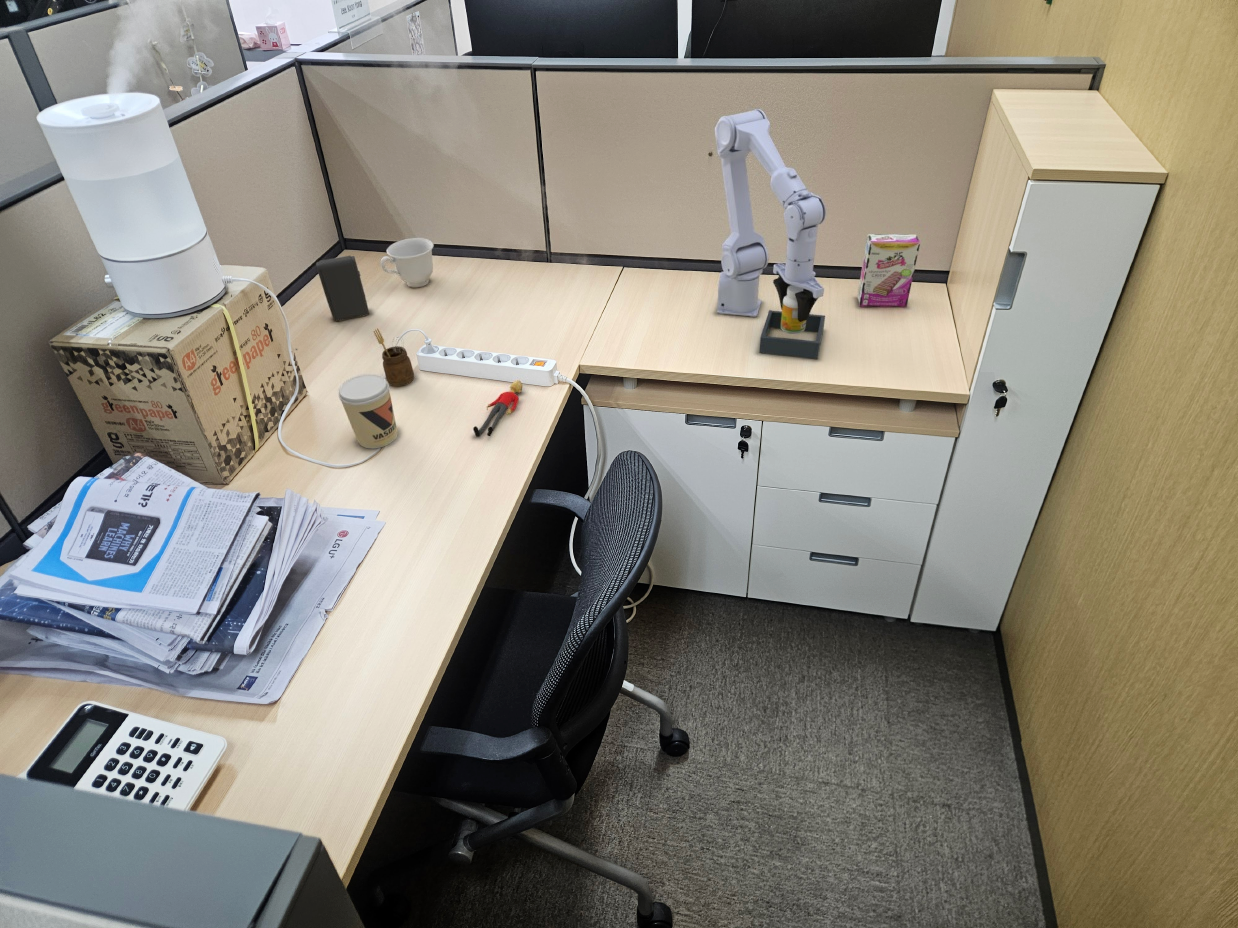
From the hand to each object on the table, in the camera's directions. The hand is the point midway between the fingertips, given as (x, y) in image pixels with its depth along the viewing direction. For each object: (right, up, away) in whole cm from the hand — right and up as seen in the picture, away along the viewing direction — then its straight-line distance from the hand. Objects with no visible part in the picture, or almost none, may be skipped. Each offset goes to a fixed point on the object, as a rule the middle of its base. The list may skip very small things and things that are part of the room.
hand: (794, 314), depth 173 cm
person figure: (-62, -22, -12) cm, 67 cm away
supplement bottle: (0, -3, +2) cm, 4 cm away
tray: (0, -5, +4) cm, 7 cm away
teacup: (-93, +15, +37) cm, 101 cm away
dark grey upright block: (-105, +4, +25) cm, 108 cm away
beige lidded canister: (-86, -27, -16) cm, 92 cm away
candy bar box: (+25, +6, +16) cm, 30 cm away
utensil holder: (-86, -14, 0) cm, 87 cm away
